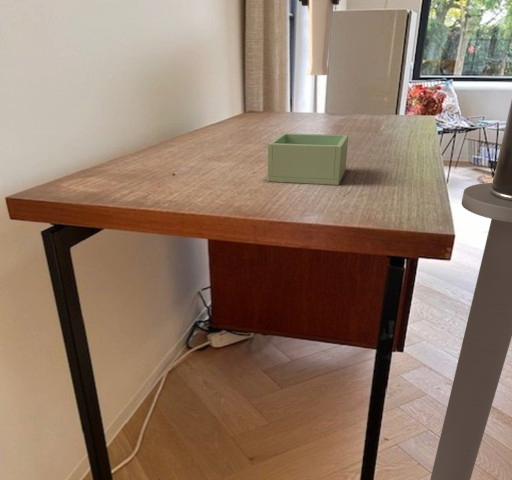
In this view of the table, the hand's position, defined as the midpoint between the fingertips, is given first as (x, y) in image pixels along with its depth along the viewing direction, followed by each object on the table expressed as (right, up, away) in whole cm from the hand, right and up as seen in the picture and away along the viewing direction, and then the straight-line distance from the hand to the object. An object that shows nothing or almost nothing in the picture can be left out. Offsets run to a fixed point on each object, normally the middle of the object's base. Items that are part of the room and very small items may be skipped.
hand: (320, 4), depth 83 cm
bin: (-2, -27, +3) cm, 28 cm away
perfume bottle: (0, -9, +5) cm, 11 cm away
